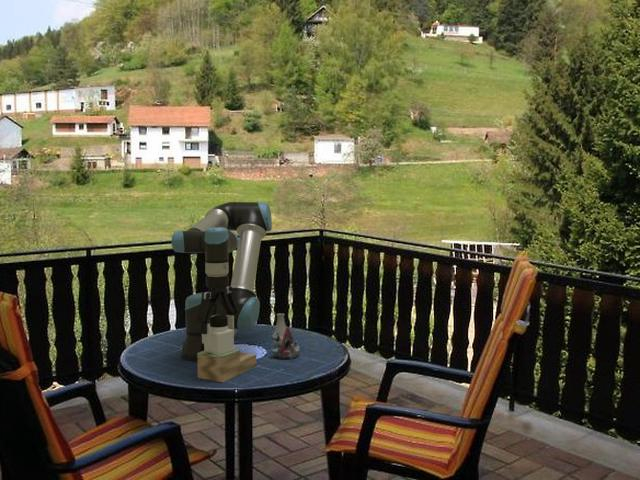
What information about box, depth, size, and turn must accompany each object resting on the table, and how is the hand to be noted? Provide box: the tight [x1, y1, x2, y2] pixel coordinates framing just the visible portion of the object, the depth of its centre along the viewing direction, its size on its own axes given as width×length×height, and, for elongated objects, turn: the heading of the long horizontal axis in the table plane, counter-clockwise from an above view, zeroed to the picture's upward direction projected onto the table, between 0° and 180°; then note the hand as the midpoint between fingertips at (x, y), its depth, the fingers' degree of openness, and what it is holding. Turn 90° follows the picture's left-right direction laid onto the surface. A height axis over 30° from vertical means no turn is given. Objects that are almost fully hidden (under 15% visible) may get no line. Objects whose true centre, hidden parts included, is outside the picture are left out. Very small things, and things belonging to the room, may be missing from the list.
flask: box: [271, 312, 290, 340], centre depth 261 cm, size 7×7×10 cm
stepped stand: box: [196, 348, 257, 383], centre depth 217 cm, size 10×20×8 cm, turn 153°
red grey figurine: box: [269, 326, 301, 360], centre depth 236 cm, size 11×11×12 cm
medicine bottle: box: [204, 315, 235, 355], centre depth 211 cm, size 7×7×12 cm
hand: (218, 338), depth 212 cm, fingers open, 13 cm apart
